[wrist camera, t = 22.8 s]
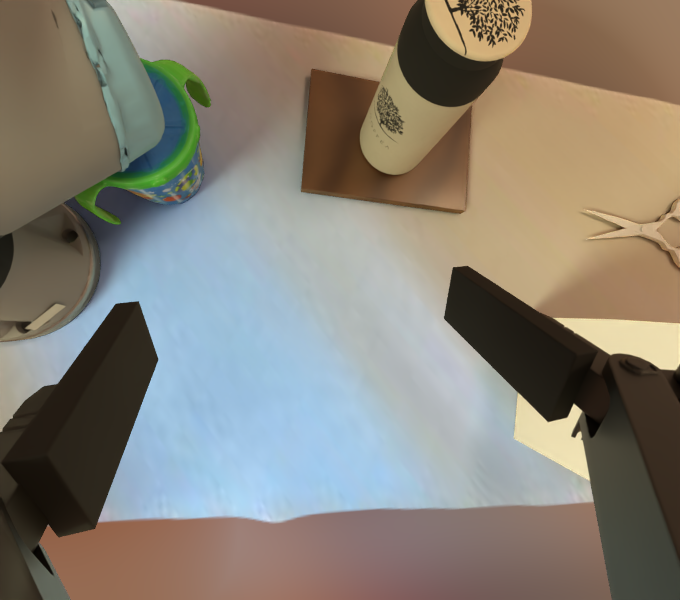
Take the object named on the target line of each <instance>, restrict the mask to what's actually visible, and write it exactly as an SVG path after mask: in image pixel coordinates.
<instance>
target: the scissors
mask: <svg viewBox="0 0 680 600" xmlns="http://www.w3.org/2000/svg"><path fill="white" fill-rule="evenodd" d="M584 210H585V209H584ZM586 211H588V212H590V213H593V214H595V215H597V216H599V217H602V218H604V219H606V220H608V221H611V222H613V223H616V224H618V225H620V226H622V227H624V228H625V229H621V230H617V231H613V232H610V233H606V234H602V235H599V236H595V237H591V238H588V239H598V238H613V237H626V236H636V235H640V236H642V237H645V238H648V239H651V240H653V241H655V242H657V243H658V244H659V245H660V246H661V248H662V250H666V251H669V252H670V254H671V256H672V258H673V261H674V263H675V264H676V265H677V266H678V267H679V268H680V247H678V248H674V247H672V246H670V245H669V244H668V243H667V242H666V241H665V240H664V239H663V237H662V236H661V234H660V233H659V232H658V231H657V229H658V228H659V227H660V226H661V225H662V224H663V223H664V222H665V221H666V220H667V219H668V218H669V217H675V218H676V219H678V220H679V221H680V199H677V200H676V201H675V202H674V203H673V205H672V207H671V211H670V212H669V213H668V214H663V215H662V216H661V218H660V219H659V220H658V221H657V222H653V223H648V224H642V225H641V224H638V223H634V222H631V221H628V220H625V219H622V218H618V217H615V216H610V215H606V214H603V213H599V212H595V211H591V210H586Z"/></svg>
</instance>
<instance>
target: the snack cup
mask: <svg viewBox="0 0 680 600" xmlns="http://www.w3.org/2000/svg"><path fill="white" fill-rule="evenodd" d="M140 60H141V62H142V64H143V66H144V68H145V70H146V72H147V74H148V76H149V78H150V81H151V83H152V85H153V87H154V90H155V92H156V95H157V97H158V100H159V102H160V105H161V108H162V111H163V115H164V120H165V129H164V133H163V135H162V138H161V140H160V142H159V143H158V144H157V145H156V146H155V147H153V148H152V149H150V150H149V151H147V152H146V153H144V154H143V155H141V156H140V157H138V158H137V159H135V160H134V161H132V162H130V163H129V166H128V168H126V169H125V171H123V172H116V173H114V174H112V175H111V176H109V177H107V178H106V179H104V180H102V181H100V182H99V183H97V184H95V185H93V186H92V187H90V188H88V189H86V190H85V191H83V192H81V193H79V194H78V195H76V196H74V197H75V199H76V200H77V202H78V203H79V204H80V205H81V206H82V207H84V208H85V209H87V210H89V211H90V212H92V213H93V214H95V215H96V216H98V217H99V218H101V219H103V220H105V221H107V222H109V223H112V224H116V225H117V224H121V221H120V219H119V218H118V217H116V216H115V215H113V214H111V213H109V212H107V211H105V210H103V209H101V208H99V207H97V206H95V201H96V197H97V195H98V193H99V192H100V190H101V189H103V188H105V187H107V186H113V187H118V188H123V189H125V190H127V191H129V192H131V193H133V194H136V195H138V196H140V197H142V198H145V199H146V200H149V201H151V202H156V203H159V204H164V205H172V204H177V203H184V202H185V201H188V200H189V198H191V196H193V195H195V194H196V193H197V191H198V189H199V188H200V185H201V182H202V180H203V176H204V169H203V167H204V165H203V159H202V154H201V149H200V145H199V138H200V127H199V125H198V121H197V116H196V113H195V110H194V107H193V105H192V103H191V101H190V99H189V97H188V95H187V93H186V92H185V90H184V85H185V83H186V87H187V91H188V92H189V94H190V96H191V97H192V98H193V99H194V100H196V101H197V102H198V103H200V104H201V105H203V106H205V107H210V106H211V103H210V101H211V99H210V97H209V94H208V92H207V90H206V88H205V86H204V84H203V83H202V81H201V80H200V79H199V77H197V76H196V75H195V74H194V73H193V72H191V71H189V70H188V69H186V68H185V67H184V66H182V65H181V64H179V63H177V62H175V61H171V60H159V61H155V62H150V61H147V60H144V59H141V58H140Z"/></svg>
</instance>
